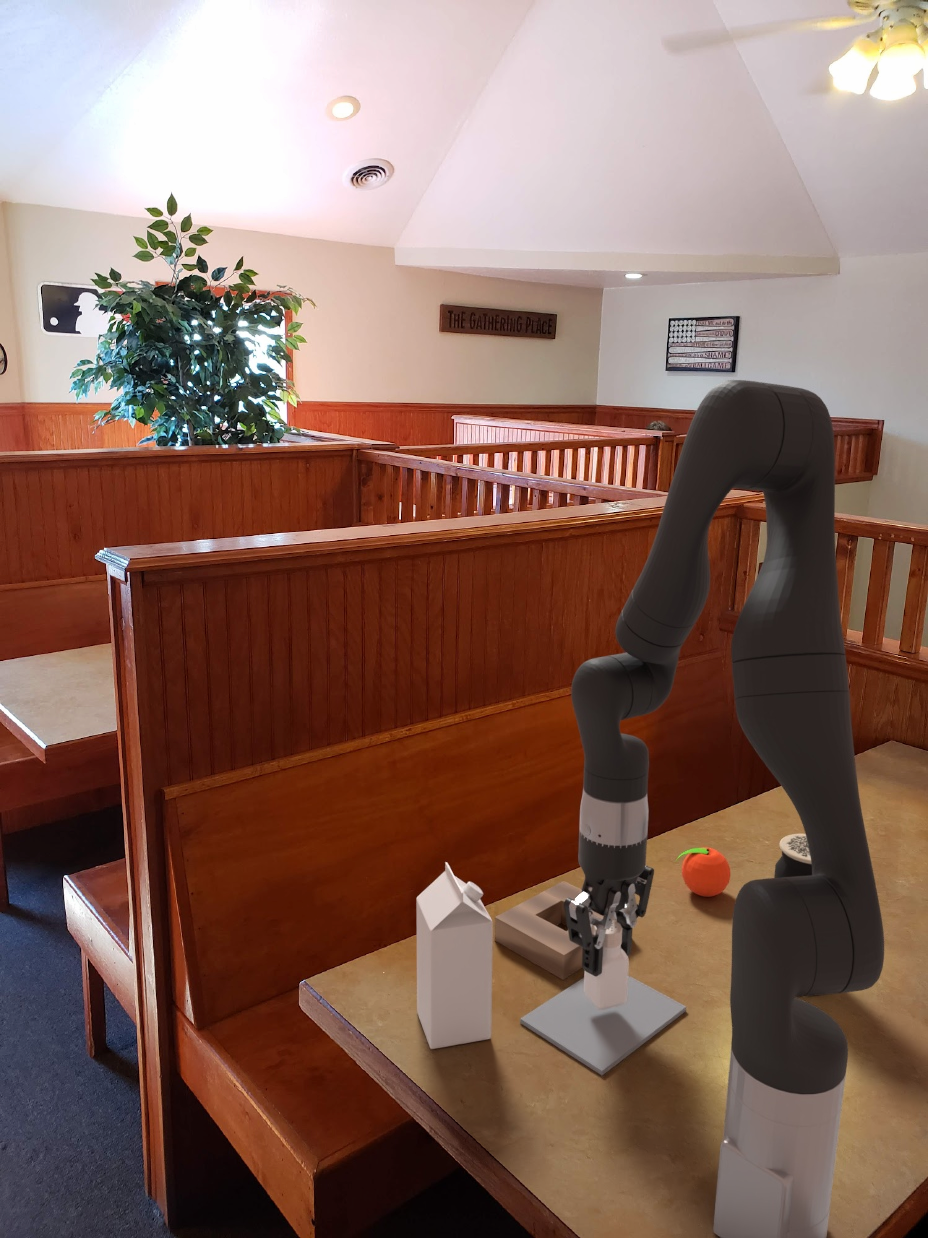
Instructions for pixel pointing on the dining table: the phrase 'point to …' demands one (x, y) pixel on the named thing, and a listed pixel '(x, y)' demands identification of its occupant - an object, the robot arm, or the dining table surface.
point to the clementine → (705, 871)
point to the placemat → (602, 1023)
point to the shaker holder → (543, 931)
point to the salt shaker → (609, 972)
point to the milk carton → (454, 962)
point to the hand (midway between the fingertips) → (607, 962)
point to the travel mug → (794, 857)
